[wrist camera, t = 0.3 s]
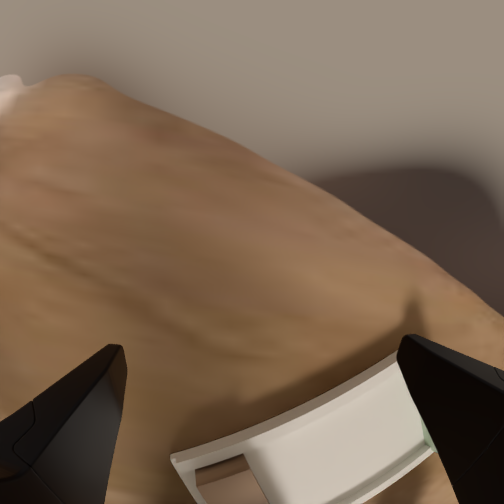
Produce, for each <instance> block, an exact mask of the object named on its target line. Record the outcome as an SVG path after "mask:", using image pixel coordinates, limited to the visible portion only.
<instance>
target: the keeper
mask: <svg viewBox="0 0 504 504" xmlns="http://www.w3.org/2000/svg"><path fill="white" fill-rule="evenodd" d="M195 478H196V487H197V489H198V491H199V492H200V494H201V495H202V497H203V498H204V500H205V501H206V503H207V504H270V503H269V501H268V499H267V498H266V496H265V494H264V492H263V490H262V489H261V487H260V485H259V483H258V481H257V479H256V477H255V476H254V474H253V472H252V470H251V468H250V466H249V464H248V462H247V460H246V458H245V456H244V454H243V453H242V454H239V455H237V456H234V457H231V458H228V459H225V460H223V461H220V462H217V463H214V464H211V465H208V466H204V467H201V468H198V469H195Z"/></svg>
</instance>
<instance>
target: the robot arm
mask: <svg viewBox="0 0 504 504" xmlns="http://www.w3.org/2000/svg"><path fill="white" fill-rule="evenodd" d="M396 360H397V363H398V365H399V368H400V370H401V373H402V375H403V378H404V381H405V383H406V386H407V388H408V391H409V393H410V396H411V398H412V400H413V402H414V404H415V406H416V408H417V410H418V412H419V414H420V416H421V418H422V420H423V422H424V424H425V426H426V428H427V431H428V433H429V435H430V437H431V439H432V441H433V443H434V446H435V448H436V450H437V452H438V454H439V457H440V459H441V461H442V463H443V466H444V468H445V470H446V473H447V475H448V477H449V480H450V482H451V485H452V487H453V490H454V492H455V495H456V497H457V500H458V502H459V504H504V371H503V370H501V369H498V368H496V367H494V368H493V366H491V365H488V364H486V363H483V362H481V361H479V360H476V359H474V358H471V357H469V356H466V355H464V354H462V353H459V352H457V351H454V350H452V349H450V348H447V347H445V346H442V345H440V344H438V343H435V342H433V341H431V340H428V339H426V338H423V337H421V336H419V335H416V334H408V335H405V336H403V338H402V340H401V343H400V346H399V349H398V351H397V354H396ZM126 379H127V364H126V359H125V354H124V350H123V347H122V346H121V345H118V344H108V345H106V346H105V347H104V348H102V349H101V350H100V351H98V352H97V353H95V354H94V355H93V356H91V357H90V358H89V359H87V360H86V361H84V362H83V363H82V364H80V365H79V366H78V367H76V368H75V369H73V370H72V371H71V372H69V373H68V374H67V375H65V376H64V377H63V378H61V379H60V380H58V381H57V382H56V383H54V384H53V385H52V386H50V387H49V388H48V389H46V390H45V391H44V392H42V393H41V394H39V395H38V396H37V397H35V398H34V399H33V401H30V402H28V403H27V404H26V405H24V406H23V407H22V408H20V409H19V410H17V411H16V412H15V413H13V414H12V415H10V416H9V417H7V418H5V419H4V420H2V421H1V422H0V504H104V502H105V496H106V490H107V484H108V479H109V474H110V468H111V463H112V458H113V454H114V449H115V444H116V440H117V435H118V431H119V427H120V422H121V417H122V411H123V402H124V394H125V386H126Z"/></svg>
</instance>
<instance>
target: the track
mask: <svg viewBox="0 0 504 504" xmlns="http://www.w3.org/2000/svg"><path fill="white" fill-rule="evenodd" d="M397 351H398V350H397ZM397 351H395V352H394V353H392V354H391V355H389V356H388V357H386V358H384V359H383V360H381V361H380V362H378V363H376V364H375V365H373V366H372V367H370V368H368V369H367V370H365V371H363V372H361V373H360V374H358V375H356V376H355V377H353V378H351V379H349V380H348V381H346V382H344V383H342V384H340V385H339V386H337V387H335V388H333V389H331V390H329V391H327V392H325V393H323V394H322V395H320V396H318V397H316V398H314V399H312V400H310V401H308V402H306V403H304V404H302V405H299V406H297V407H295V408H293V409H291V410H289V411H287V412H284V413H282V414H280V415H278V416H276V417H273V418H271V419H269V420H266V421H264V422H262V423H259V424H257V425H254V426H252V427H249V428H247V429H244V430H242V431H239V432H237V433H234V434H231V435H229V436H226V437H223V438H220V439H217V440H214V441H212V442H209V443H206V444H203V445H200V446H196V447H193V448H190V449H187V450H184V451H180V452H177V453H173V454H170V460H171V462H172V464H173V466H174V467H175V469H176V471H177V472H178V474H179V476H180V477H181V479H182V481H183V482H184V484H185V485H186V487H187V489H188V490H189V492H190V493H191V495H192V496H193V498H194V499H195V501H196V502H197V504H207V503H206V501H205V500H204V498H203V497H202V495H201V494H200V492H199V491H198V489H197V487H196V478H195V469H198V468H201V467H204V466H208V465H211V464H214V463H217V462H220V461H223V460H225V459H228V458H231V457H234V456H237V455H239V454H242V453H243V454H244V456H245V458H246V460H247V462H248V464H249V466H250V468H251V470H252V472H253V474H254V476H255V477H256V479H257V481H258V483H259V485H260V487H261V489H262V490H263V492H264V494H265V496H266V498H267V499H268V501H269V503H270V504H362V503H364V502H365V501H367V500H369V499H370V498H372V497H373V496H375V495H376V494H378V493H380V492H381V491H383V490H384V489H386V488H387V487H388V486H390V485H391V484H393V483H394V482H396V481H397V480H398V479H400V478H401V477H403V476H404V475H405V474H407V473H408V472H409V471H411V470H412V469H413V468H415V467H416V466H417V465H418V464H420V463H421V462H422V461H423V460H425V459H426V458H427V457H428V456H429V455H431V454H432V453H433V452H436V453H438V452H437V450H436V448H435V446H434V443H433V441H432V439H431V437H430V435H429V433H428V431H427V428H426V426H425V424H424V422H423V420H422V418H421V416H420V414H419V412H418V410H417V408H416V406H415V404H414V402H413V400H412V398H411V396H410V393H409V391H408V388H407V386H406V383H405V381H404V378H403V375H402V373H401V370H400V368H399V365H398V363H397V360H396V354H397Z"/></svg>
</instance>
